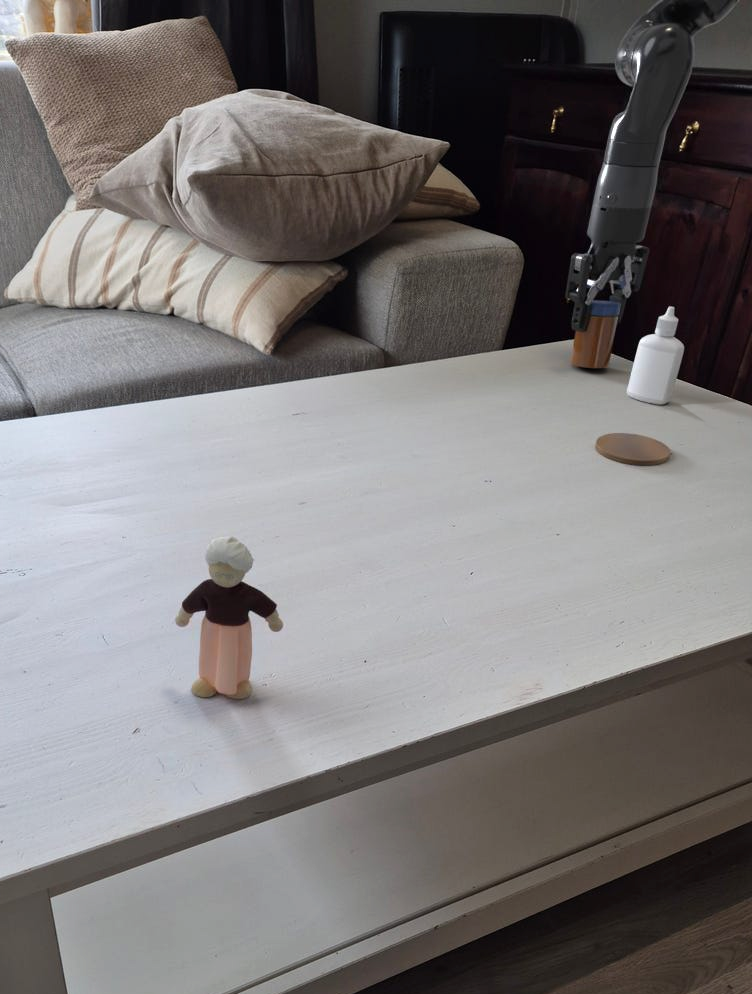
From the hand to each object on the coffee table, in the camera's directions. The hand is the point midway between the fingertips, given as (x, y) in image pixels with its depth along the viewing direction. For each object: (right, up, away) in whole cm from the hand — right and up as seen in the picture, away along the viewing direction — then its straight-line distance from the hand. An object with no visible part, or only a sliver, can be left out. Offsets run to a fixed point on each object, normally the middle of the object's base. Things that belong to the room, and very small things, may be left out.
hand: (595, 326), depth 132 cm
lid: (0, +3, -2) cm, 3 cm away
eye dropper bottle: (+4, -13, -8) cm, 16 cm away
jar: (0, -5, +1) cm, 5 cm away
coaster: (-4, -23, -24) cm, 33 cm away
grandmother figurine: (-50, -49, -63) cm, 94 cm away
